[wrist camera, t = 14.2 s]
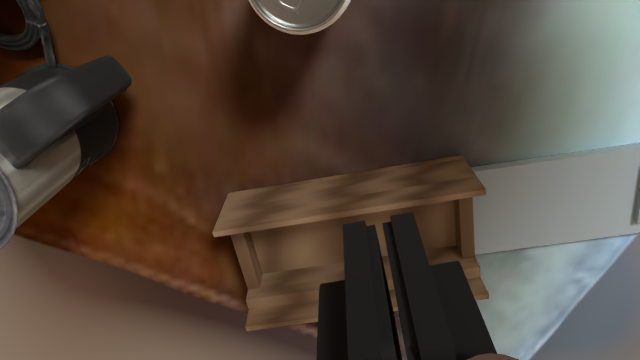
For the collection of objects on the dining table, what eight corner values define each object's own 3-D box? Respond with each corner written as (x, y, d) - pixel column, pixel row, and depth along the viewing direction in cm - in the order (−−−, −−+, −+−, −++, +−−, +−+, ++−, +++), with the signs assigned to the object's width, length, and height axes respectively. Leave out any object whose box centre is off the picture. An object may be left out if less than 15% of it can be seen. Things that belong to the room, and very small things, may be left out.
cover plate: (664, 136, 41) (680, 144, 39) (649, 222, 45) (663, 233, 43) (463, 165, 42) (469, 175, 40) (465, 246, 46) (471, 259, 44)
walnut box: (461, 154, 41) (486, 189, 35) (466, 253, 46) (488, 298, 40) (228, 193, 43) (212, 232, 37) (256, 283, 48) (246, 331, 41)
